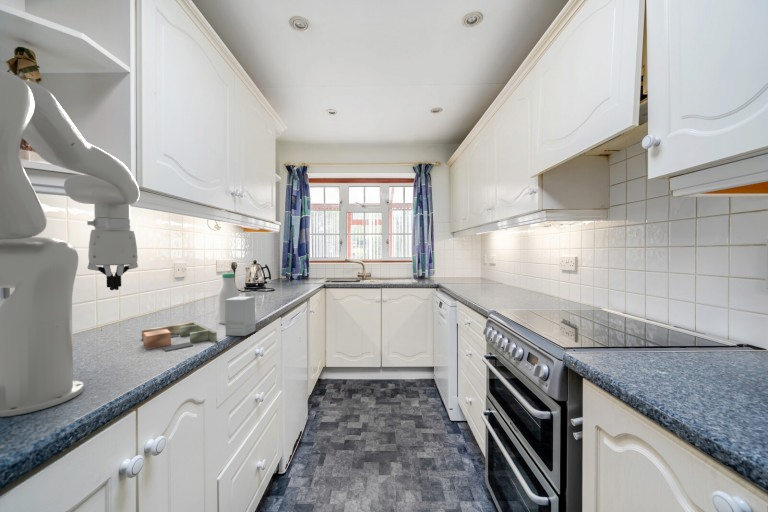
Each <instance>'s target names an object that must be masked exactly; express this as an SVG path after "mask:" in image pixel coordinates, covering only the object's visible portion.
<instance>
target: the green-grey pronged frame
mask: <svg viewBox="0 0 768 512" xmlns="http://www.w3.org/2000/svg"><path fill="white" fill-rule="evenodd" d="M163 329H167V330H169V331H170V332H171V334H174V333H175V334H177V335H178V334H179V336H180V337H187V336H189V343H191V344H192V343H197V342H203V341H210V342H212V343H216V342H217V341H218V337H217V336H218V335H217V333H218V332H217V331H215V330H213V329H211V328H209V327H208V326H207V327H206V326H204V325H203V324H200V323H198V322H191V321H190V322H187V323H177V324H173V325H167V326H166V325H165V326H159V327H151V328H147V329H146V328H145V329H141V340H142V339H143V333H144V332H150V331H157V330H163Z"/></svg>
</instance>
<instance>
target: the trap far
mask: <svg viewBox="0 0 768 512" xmlns="http://www.w3.org/2000/svg"><path fill="white" fill-rule="evenodd" d="M179 336H180V335H178V334H175V333H174V334H171V339H173V337H174V338H178V337H179Z"/></svg>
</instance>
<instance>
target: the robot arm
mask: <svg viewBox="0 0 768 512" xmlns="http://www.w3.org/2000/svg"><path fill="white" fill-rule="evenodd" d="M22 140H24V141H25V142H26V143H27V144H28V146H30V147H31V148H32V150H34V152H36V154H37V155H39V157H40V158H41V159H43V161H45V162H48V163H50V164H52V165H54V166H56V167H60V168H63V169H65V170H68V171H71V172H72V171H73V172H76V173H77V174H76V173H75V174H72V175H70V176H68V177H67V178H65V181H64V182H63V190H64V191H65V193H66V195H67V197H69V199H71V200H73V201H74V202H77V203H79V204H85V205H94V218H93V219H91V220H87V221H86V222H87V226H93V227H94V229H91V231H90V234H89V241H88V264H87V269H88V270H90V271H96V272H97V271H99V272H100V273H102V274H103V275H105V277H106V288H109V290H110V291H118V290H119V287H122V276H123V274H125V273H126V272H127V271H129V270H134V269H136V268H138V267H139V265H138V245H137V240H136V234H135V230H131V205H134V204H136V203H137V202H138V201H139V199H140V195H141V194H140V189H139V185H138V182H137V181H136V178H134V176H133V174H132V172H131V171H130V169H129V168H128V166H127V165H125V163H123V162H122V161H120V160H119V159H118V158H116V157H115V156H113V155H111V154H110V153H108V152H106V151H104V150H103V149H101V148H99V147H97V146H96V145H93V144H91V143H89V142H88V141H86V139H85V138H84V136H83V135H82V134H81V132H80V131H79V130H78V128H77V127H76V125H75V124H74V123H73V121H72V120H71V118H70V117H69V115H68V114H67V112H66V111H65V109H63V107H62V106H61V104H60V103H59V102H58V100H57V99H56V97H55V96H54V95H53V94H52V93H51V91H49V90H48V89H47V88H45V87H44V86H42V85H40V84H37V83H36V82H33V81H30V80H26V79H22V78H21V77H19V76H17V75H15V74H13V73H11V72H8V71H5V70H2V69H0V289H2V288H4V289H5V288H9V289H10V288H11V289H14V290H13V291H12V293H11V294H9V296H8V297H7V298H6V299H5V300H4V301H3V302H2V304H1V305H0V418H4V417H13V416H18V415H24V414H28V413H33V412H37V411H40V410H44V409H47V408H50V407H54V406H57V405H61V404H63V403H65V402H68V401H69V400H71V399H73V398H75V397H77V396H78V395H79V396H80V394H82V392H83V391H84V389H85V388H84V387H85V384H84V382H82V381H80V380H79V381H78V380H74V363H73V362H74V360H73V359H74V356H73V353H74V349H73V348H74V347H73V346H74V345H73V341H74V339H73V291H74V290H73V289H74V284H75V280H76V275H77V271H78V267H79V266H78V265H79V254H78V251H77V249H76V248H75V247H74V246H73V245H71V244H70V243H68V242H66V241H65V240H62V239H61V240H60V239H57V238H53V237H52V238H51V237H40V236H39V237H38V235H40V234H42V232H44V231H45V229H46V228H47V223H48V222H47V215H46V211H45V210H44V208H43V205H42V203H41V201H40V199H39V197H38V195H37V193H36V191H35V189H34V186H33V184H32V183H31V181H30V179H29V176H28V175H27V172H26V170H25V168H24V165H23V163H22V160H21V156H20V154H21V153H20V151H21V150H20V148H21V144H22ZM35 236H36V237H35ZM111 266H116V270H115V273H114V274H113V273H112V268H111Z"/></svg>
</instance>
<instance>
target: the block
mask: <svg viewBox="0 0 768 512" xmlns="http://www.w3.org/2000/svg"><path fill="white" fill-rule="evenodd" d="M143 346H144V348H145V349H146V350H150V349H154V348H153V347H155V348H160V346H161V347H167V346H172V338H171V332H170V331H169V330H167V329H163V330H157V331H150V332H144V333H143ZM149 348H150V349H149Z"/></svg>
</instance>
